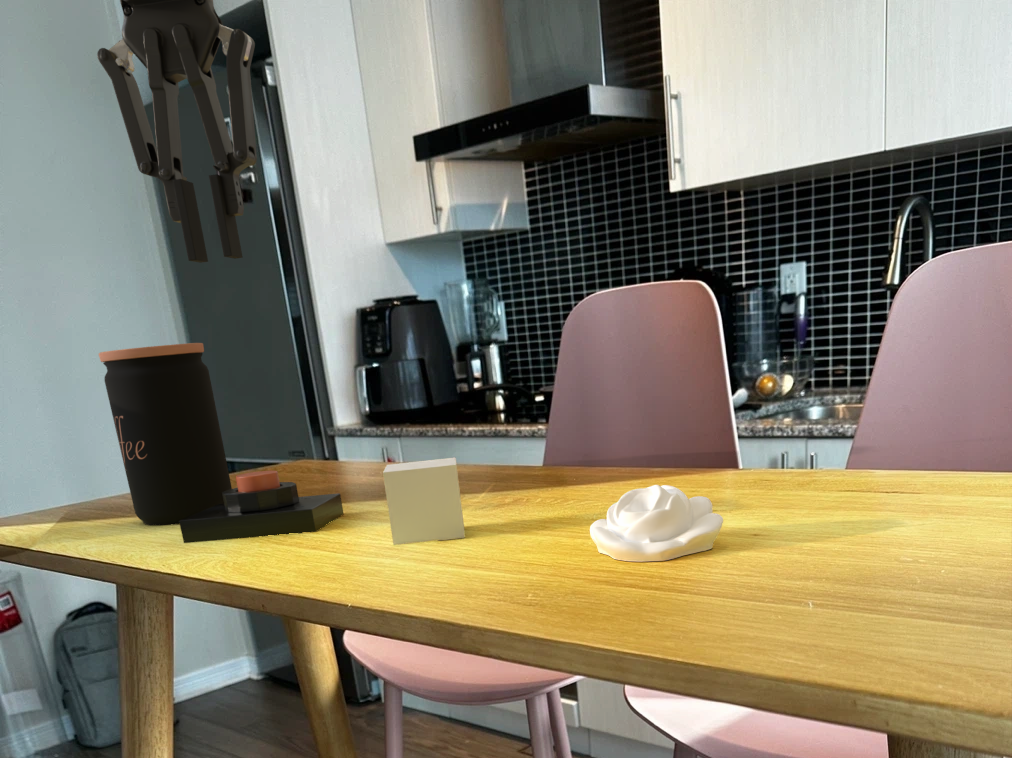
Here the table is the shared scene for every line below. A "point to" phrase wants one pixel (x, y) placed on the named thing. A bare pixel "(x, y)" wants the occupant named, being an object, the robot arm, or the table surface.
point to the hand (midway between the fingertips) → (215, 258)
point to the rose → (656, 525)
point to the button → (257, 481)
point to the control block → (262, 514)
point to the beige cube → (424, 501)
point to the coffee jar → (167, 430)
